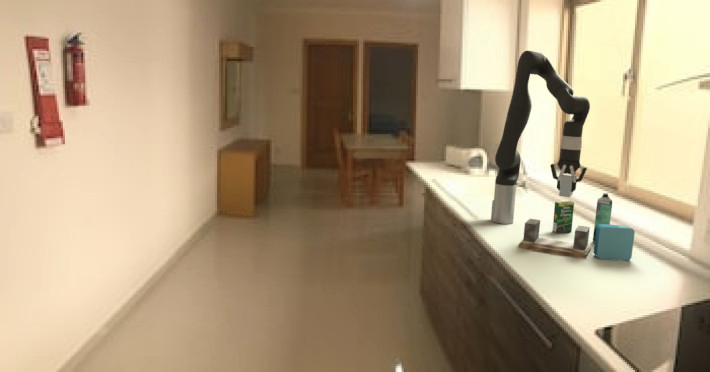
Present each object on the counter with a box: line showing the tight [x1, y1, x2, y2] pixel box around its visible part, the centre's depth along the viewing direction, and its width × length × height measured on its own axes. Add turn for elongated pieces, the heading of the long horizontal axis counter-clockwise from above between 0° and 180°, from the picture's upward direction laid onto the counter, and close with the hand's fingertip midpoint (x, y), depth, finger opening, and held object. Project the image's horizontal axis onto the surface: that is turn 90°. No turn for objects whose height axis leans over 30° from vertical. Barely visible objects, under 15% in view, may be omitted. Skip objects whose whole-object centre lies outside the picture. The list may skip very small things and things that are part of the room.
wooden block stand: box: [518, 218, 592, 260], centre depth 220 cm, size 24×14×9 cm, turn 62°
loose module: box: [558, 173, 574, 198], centre depth 230 cm, size 4×7×8 cm, turn 152°
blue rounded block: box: [593, 224, 636, 262], centre depth 210 cm, size 12×4×12 cm, turn 83°
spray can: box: [592, 192, 613, 244], centre depth 231 cm, size 6×6×20 cm
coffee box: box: [552, 200, 575, 234], centre depth 246 cm, size 8×3×13 cm, turn 107°
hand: (565, 190), depth 230 cm, fingers closed on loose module, 4 cm apart
